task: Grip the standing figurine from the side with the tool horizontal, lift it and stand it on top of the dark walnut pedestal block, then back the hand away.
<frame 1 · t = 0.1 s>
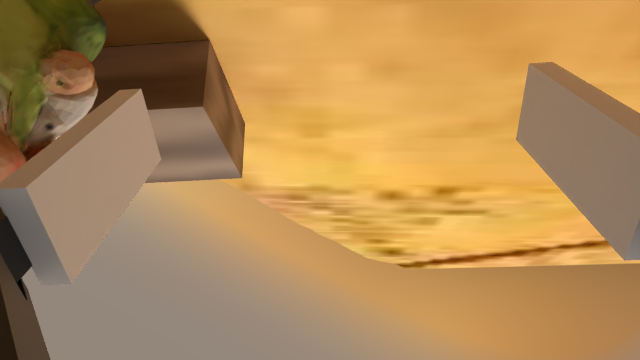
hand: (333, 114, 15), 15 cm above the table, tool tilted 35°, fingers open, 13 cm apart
pedestal: (163, 92, 39), on the table
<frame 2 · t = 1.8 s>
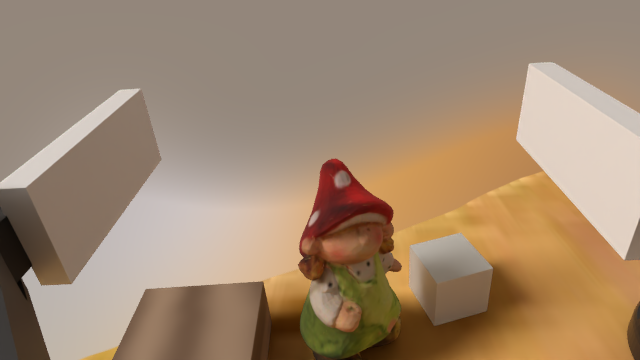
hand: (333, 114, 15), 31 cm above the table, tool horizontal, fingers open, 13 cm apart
grey cube: (446, 298, 47), on the table
figurine: (358, 351, 43), on the table
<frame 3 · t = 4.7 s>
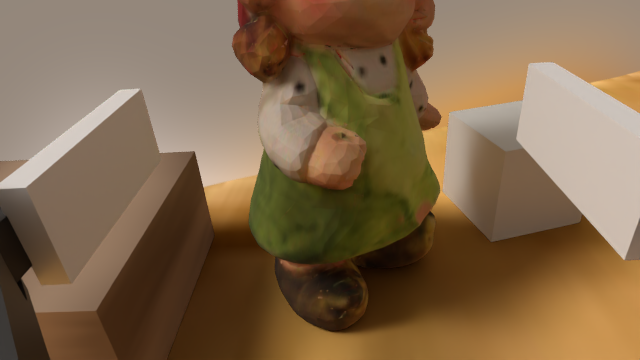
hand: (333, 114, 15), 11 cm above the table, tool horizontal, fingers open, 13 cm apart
grey cube: (506, 206, 29), on the table
pedestal: (76, 308, 23), on the table
figurine: (358, 276, 24), on the table
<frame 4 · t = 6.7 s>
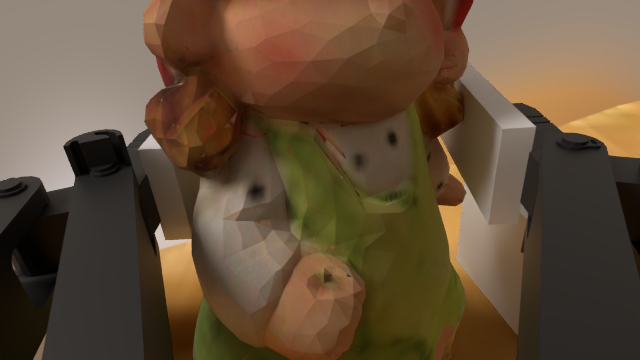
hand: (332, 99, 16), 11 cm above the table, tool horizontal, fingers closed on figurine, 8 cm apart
grey cube: (538, 285, 23), on the table
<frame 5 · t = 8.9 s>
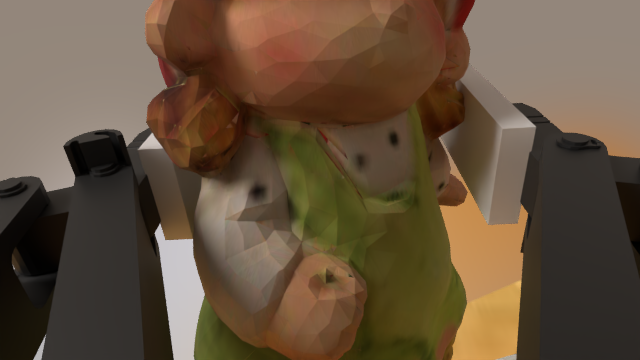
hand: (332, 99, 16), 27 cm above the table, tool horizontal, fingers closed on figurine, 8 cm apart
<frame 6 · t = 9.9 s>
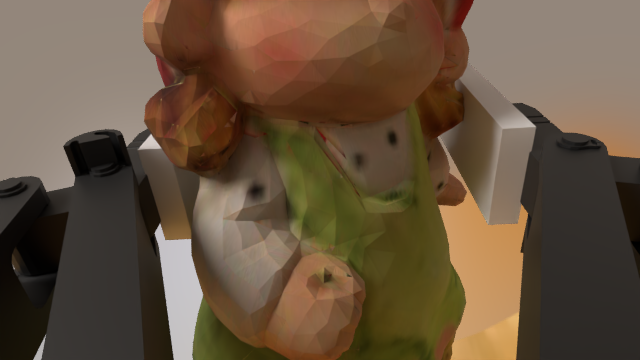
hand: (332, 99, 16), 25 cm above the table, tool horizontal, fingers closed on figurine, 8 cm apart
when the fingers open (18 cm above the table, at t = 11.8 s): figurine drops 1 cm, resting on pedestal.
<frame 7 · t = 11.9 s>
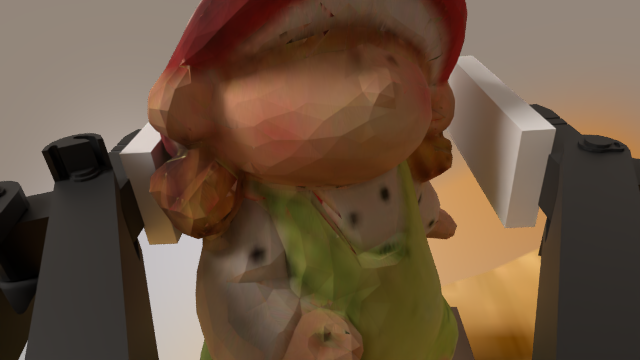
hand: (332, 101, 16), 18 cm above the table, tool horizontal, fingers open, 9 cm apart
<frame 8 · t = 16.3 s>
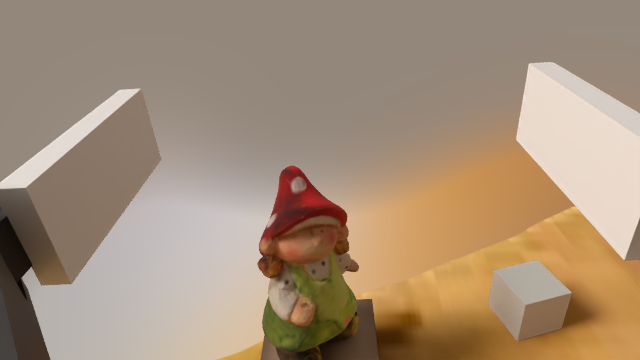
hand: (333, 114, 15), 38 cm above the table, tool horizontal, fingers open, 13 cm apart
grey cube: (523, 316, 54), on the table
figurine: (319, 346, 46), point 6 cm above the table, touching pedestal
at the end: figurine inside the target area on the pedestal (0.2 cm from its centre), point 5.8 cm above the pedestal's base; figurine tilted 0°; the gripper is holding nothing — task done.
